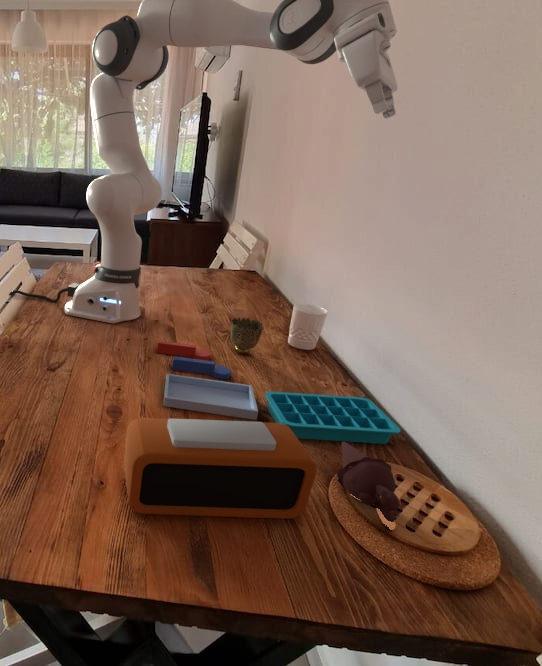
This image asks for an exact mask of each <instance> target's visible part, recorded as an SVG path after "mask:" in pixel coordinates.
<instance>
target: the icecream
mask: <svg viewBox="0 0 542 666" xmlns="http://www.w3.org/2000/svg"><path fill="white" fill-rule="evenodd" d="M341 454H342V465H343V468H341V469H339V470H337V472H336V476H337V482H338V483H339V484H340V485H341V486H342V488H343V489H344V490H346V492H347V493H348V494H349V493H350V494H352V495H353V496H355V497H356V498H358V499H360V500H361V501H362V502H361V503H362V504H365V505H366V506H367V505H368V506H370V505H369V504H374V505H375V506H376V508H378V509H380V511H381V512H382V514H383V515H384V517H385V518H386V519H387V520H388V521H391V522H393V521H394V520H395V521H396V519H395V516H394V514H393V512H396V511H397V510H398V509H399V508H400V506H401V503H400V502H401V501H400V500H399V497H398V496H397V495H396V493H395V491H396V481H395V477H394V474H393V471H392V466H391V465H390V464H389V463H387V462H386V461H385V460H384V459H382V458H375V457H374V458H373V457H370V456H368V455H367V454H365V453H363V452H362V451H361V450H359V449H357V448H356V447H355V446H353V445H351V444H349V443H348V442H347V441H341ZM353 500H356V499H355V498H353ZM374 505H373V506H374ZM382 526H383V527H384V528H385V530H387V531H389V532H393V531H392V530H390V529H389V527H387V525H386V526H385V524H382Z"/></svg>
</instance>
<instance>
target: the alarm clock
mask: <svg viewBox="0 0 542 666" xmlns="http://www.w3.org/2000/svg"><path fill="white" fill-rule="evenodd" d="M123 455H124V456H123V470H124V479H125V486H126V495H127V503H128V506H129V508H130V509H131V510H132V511H133V512H134V513H137V514H139V515H140V514H141V515H160V516H161V515H163V516H188V517H189V516H190V517H215V518H216V517H217V518H219V517H220V518H246V519H248V518H249V519H250V518H251V519H276V520H277V519H280V520H291V519H295V518H297V517H299V516H301V515H302V514H303V513H304V512H305V510H306V508H307V505H308V501H309V498H310V496H311V491H312V488H313V485H314V481H315V478H316V475H317V470H318V469H317V468H318V467H317V464H316V461H315V460H314V459H313V458H312V456H311V455H310V453H309V452H308V451H307V449H306V448H305V446H304V445H303V444H302V442H301V441H300V439H299V438H297V437H296V436H295V434H294V433H293V431H292V430H291V429H290V427H288V426H287V425H285V424H281V423H276V422H262V421H247V420H246V421H245V420H222V419H221V420H219V419H218V420H217V419H194V418H192V419H191V418H155V417H154V418H153V417H139V418H135V419H133V420H132V421H131V422H130V423H129V424H128V426H127V428H126V435H125V447H124V454H123Z"/></svg>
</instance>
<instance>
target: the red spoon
mask: <svg viewBox="0 0 542 666" xmlns="http://www.w3.org/2000/svg"><path fill="white" fill-rule="evenodd" d="M156 353H157V354H164V355H172V356H177V357H185V358H191V359H198V360H206V361H211V357H212V353H211V352H210V351H209V350H207V349H205V348H197V345H196V344H190V343H183V342H182V343H181V342H180V343H179V342H175V341H174V342H173V341H167V340H158V341H157V345H156Z"/></svg>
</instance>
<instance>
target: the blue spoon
mask: <svg viewBox="0 0 542 666" xmlns="http://www.w3.org/2000/svg"><path fill="white" fill-rule="evenodd" d="M171 370H173V371H180V372H188V373H195V374H203V375H210V376H212V377H213V378H215V379H218V380H228V379H230V378H231V375H232V370H231V369H230V368H229V367H227V366H224V365H220V364H219V365H217V364H216V362H215V361H212V360H208V361H206V360H198V359H194V358H192V357H184V356H176V355H173V358H172V366H171Z"/></svg>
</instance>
